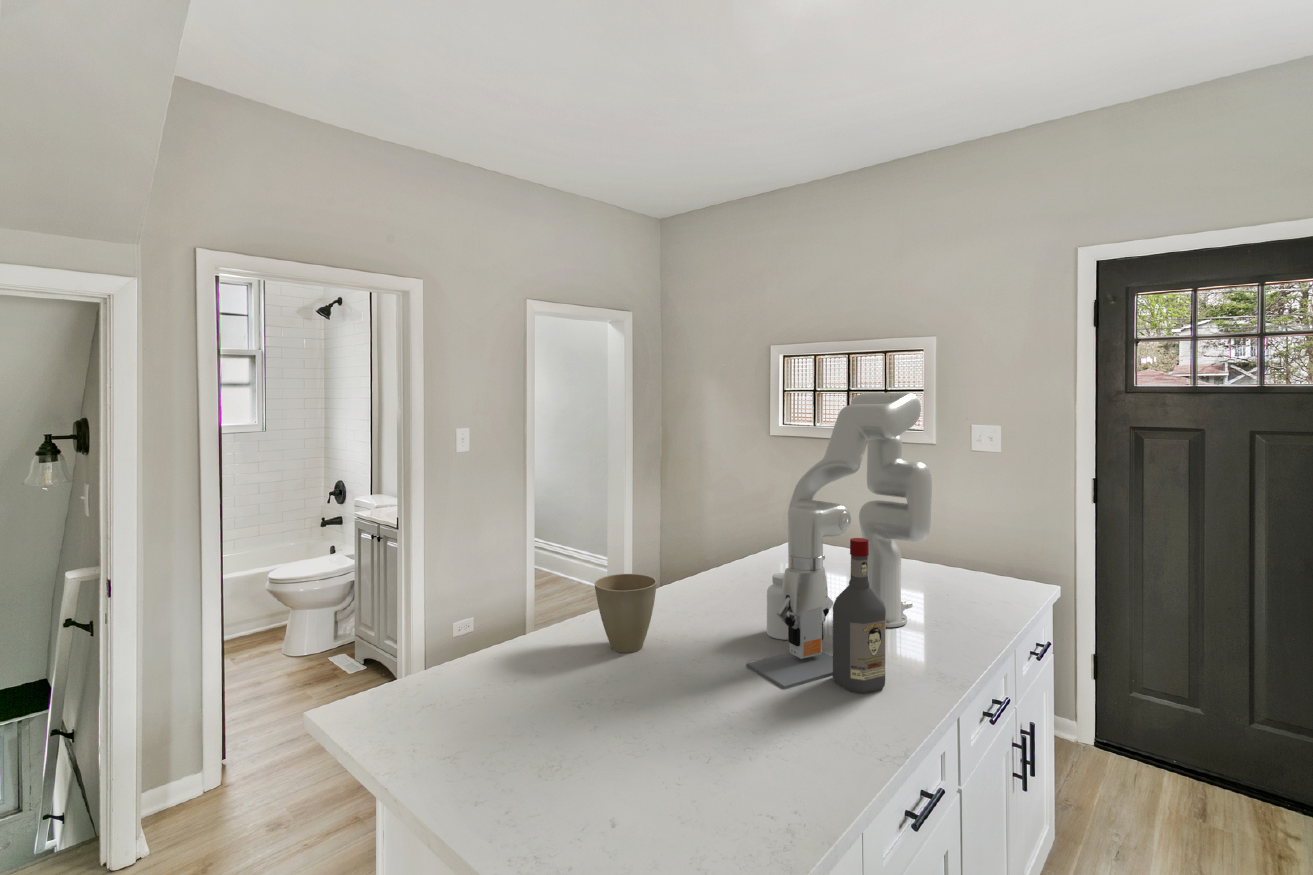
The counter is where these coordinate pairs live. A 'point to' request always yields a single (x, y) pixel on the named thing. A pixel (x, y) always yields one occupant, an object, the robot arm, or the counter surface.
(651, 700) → the counter surface
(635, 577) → the plant pot
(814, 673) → the mat
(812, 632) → the skincare box
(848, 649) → the liquor
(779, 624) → the pill bottle
